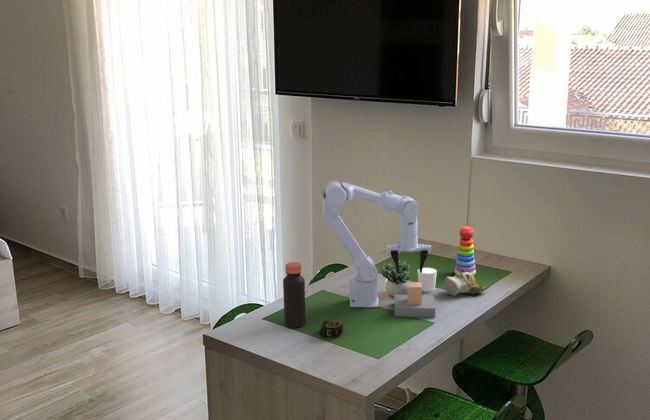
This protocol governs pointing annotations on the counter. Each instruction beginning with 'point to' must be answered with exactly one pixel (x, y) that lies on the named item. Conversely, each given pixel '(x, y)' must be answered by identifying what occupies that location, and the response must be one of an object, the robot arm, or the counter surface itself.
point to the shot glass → (427, 279)
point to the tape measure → (331, 328)
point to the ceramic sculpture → (462, 284)
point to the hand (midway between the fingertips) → (409, 271)
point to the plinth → (414, 307)
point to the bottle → (294, 296)
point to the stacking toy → (465, 252)
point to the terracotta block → (415, 293)
